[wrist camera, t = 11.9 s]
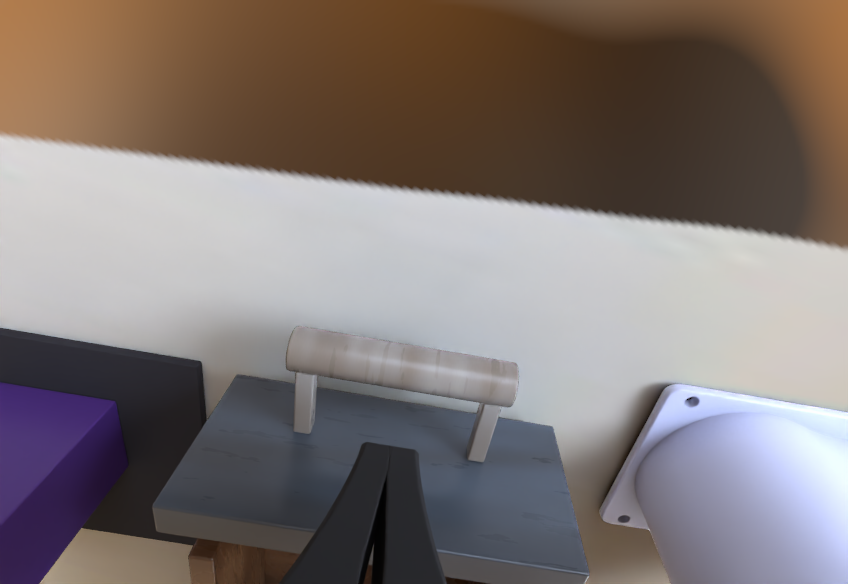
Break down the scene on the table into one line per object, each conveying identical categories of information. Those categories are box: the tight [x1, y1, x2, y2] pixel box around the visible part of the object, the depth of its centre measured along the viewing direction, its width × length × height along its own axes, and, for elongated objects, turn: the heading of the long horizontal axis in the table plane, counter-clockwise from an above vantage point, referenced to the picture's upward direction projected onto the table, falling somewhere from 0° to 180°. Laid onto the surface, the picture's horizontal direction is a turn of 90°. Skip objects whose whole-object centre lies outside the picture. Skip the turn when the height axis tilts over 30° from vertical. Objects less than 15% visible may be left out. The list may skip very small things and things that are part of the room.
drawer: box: [152, 326, 590, 584], centre depth 18 cm, size 18×12×6 cm
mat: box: [0, 328, 206, 545], centre depth 21 cm, size 18×12×1 cm, turn 81°
